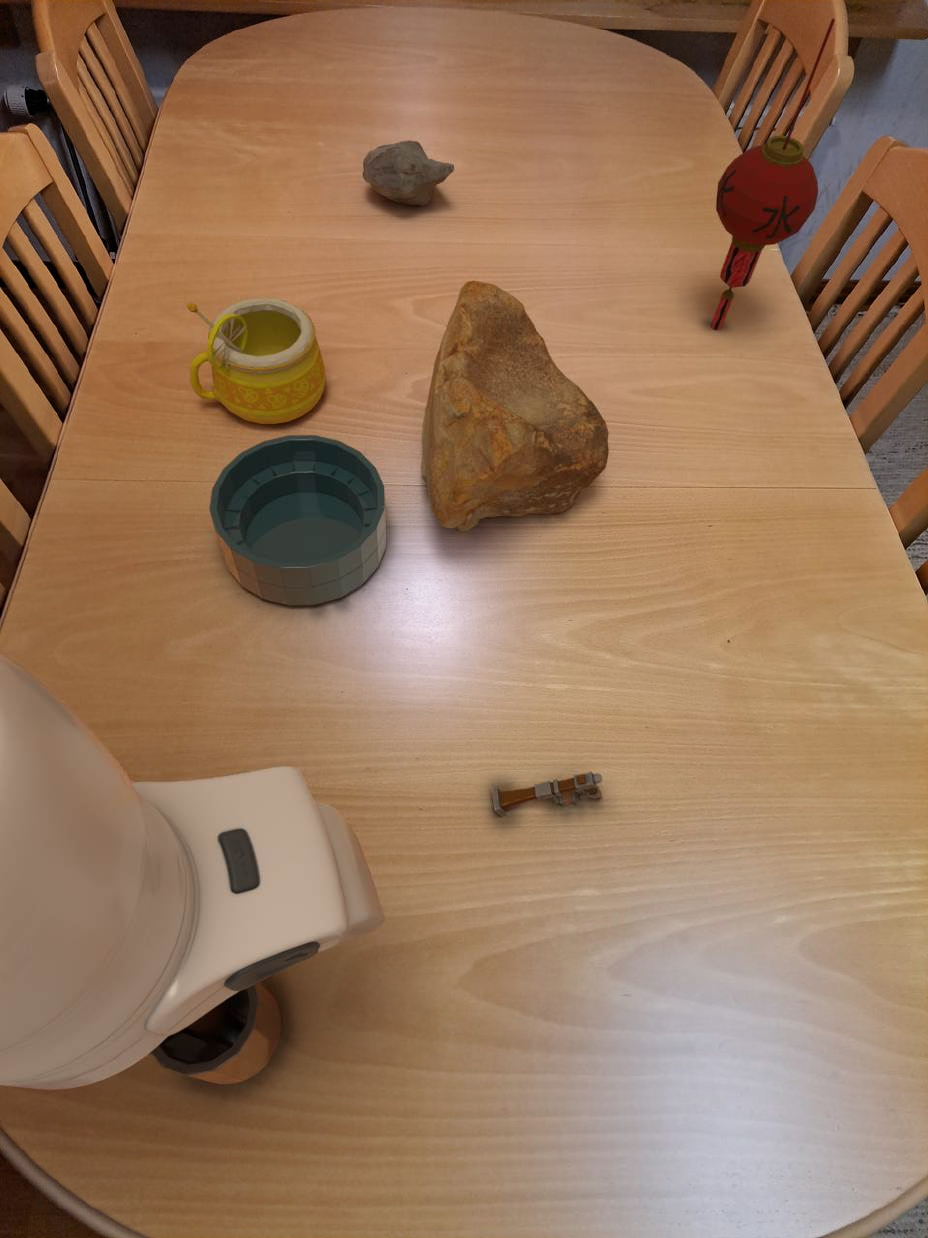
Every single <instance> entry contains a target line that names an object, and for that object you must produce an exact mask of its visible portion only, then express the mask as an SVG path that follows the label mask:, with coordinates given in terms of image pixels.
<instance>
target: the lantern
mask: <svg viewBox="0 0 928 1238" xmlns="http://www.w3.org/2000/svg"><path fill="white" fill-rule="evenodd" d="M835 21H836V19H835V18H831V20H830V23H829V25H828V28H827V30H826V33H825V36H824V39H823V42H822V43H821V47H820V49H819V52H818V54H817V56H816V60H815V62H814V65H813V67H812V69H811V73H810V75H809V78H808V80H807V83H806V86H805V88H804V91H803V94H802V96H801V99H800V102H799V104H798V106H797V109H796V111H795V115H794V117H793V120H792V122H791V125H790V128H789V131H788V133H787V135H773V136H771V137H769V138H767V140H766V143H765V144H763V145H756V146H754V147H751V148H748V149H746V150H745V151H744V152H742V153H741V154H739V155H738V156H737V157H735V158H734V159H733V160H732V161H731V163H729V165H727V167H726V169H725V170H724V172H723V173H722V175H721V177H720V179H719V180H718V182H717V191H716V201H715V211H716V213H717V216H718V218H719V220H720V222H721V224H722V226H723V228H724V229H725V232H727V233H728V234H729V235H731V236H732V237H731V243H730V245H729V249H728V250H727V254H726V256H725V259H724V262H723V265H722V268H721V270H720V274H719V278H720V280H721V281H722V282H723V283H724V284H726V285H727V287H729V288H728V289H725V290H723V292H722V293H721V297H720V299H719V302H718V305H717V307H716V310H715V313H714V316H713V318H712V321H711V323H710V327H711V329H713V330H714V331H719V330H721V329H722V327H723V324H724V322H725V319H726V317H727V315H728V312H729V309H730V307H731V304H732V302H733V299H734V297H735V292H733V289H735V288H741V287H746V286H747V285H749V283H750V281H751V279H752V277H753V274H754V271H755V269H756V266H757V264H758V262H759V259H760V256H761V254H762V252H763V249H764V248H765V247H766V246H773V245H776V244H779V243H781V242H784V241H785V240H787V239H789V238H790V237H792V236H794V235H796V234H798V233H799V232H800V230H801V229H802V228H803V227H804V225H805V223H806V222H807V221H808V219H809V218H810V216H811V215H812V214H813V212H814V211H815V210H816V206H817V200H818V194H819V184H818V178H817V176H816V175H817V174H816V172H815V169H814V166H813V165H812V164H811V162H810V161H809V159H808V158H807V157H805V156H804V154H803V152H804V145H803V144H802V143H801V142H800V141H799V140H797V139H795V138H794V137H791V135H792V133H793V130H794V128H795V125H796V123H797V120H798V118H799V115H800V112H801V110H802V107H803V105H804V102H805V99H806V97H807V94H808V91H809V89H810V86H811V84H812V81H813V79H814V76H815V73H816V71H817V68H818V66H819V63H820V61H821V58H822V55H823V52H824V50H825V47H826V45H827V42H828V39H829V38H830V34H831V32H832V29H833V27H834V24H835Z"/></svg>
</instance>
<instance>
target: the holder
mask: <svg viewBox="0 0 928 1238" xmlns="http://www.w3.org/2000/svg"><path fill="white" fill-rule="evenodd" d="M225 1002H226V1003H228V1004H229V1005H230V1006H232V1007H233V1008H235V1009H236V1010H237V1011H239V1012H240V1013H242V1014H243V1015H244V1016H245V1017H246V1025H245V1027H244V1029H243V1030H242V1032H241V1033H240V1035H239V1036H238V1038H237V1040H236V1041H235V1043H234V1044H233V1046H232V1047H227V1046H224V1045H222V1044H220V1043H218V1042H216V1041H214V1040H211V1039H209V1038H207V1037H205V1036H203V1035H201V1034H199V1033H197V1032H195V1031H192V1030H190V1029H188V1028H184V1029H182V1030H181V1031H179V1032H177V1033H175V1034H172V1035H170V1036H168V1037H167V1038H166V1039H165V1040H164V1041H163V1042H162V1043H160V1044H159V1045H158V1046H157V1047H156V1048H155V1049H154V1050H153V1051H151V1052H150V1054H151V1055H152V1056H153V1058H154V1059H155V1060H156V1061H157V1063H158V1064H159V1065H160V1066H161V1067H162V1068H164V1069H166V1070H169V1071H171V1072H175V1073H178V1074H180V1075H183V1076H186V1077H190V1078H194V1079H197V1080H202V1081H206V1082H209V1083H214V1084H216V1085H217V1084H218V1085H234V1084H237V1083H242V1082H244V1081H247V1080H248V1079H250V1078H253V1077H254V1076H255V1075H257V1074H258V1073H260V1072H261V1071H262V1070H263V1069H264V1068H265V1067H266V1066H267V1064H268V1063H269V1062H270V1060H272V1058H273V1056H274V1054H275V1053H276V1050H277V1049H278V1046H279V1043H280V1041H281V1036H282V1030H283V1029H282V1028H283V1027H282V1026H283V1023H282V1013H281V1010H280V1006H279V1004H278V1001H277V998H276V997H275V996H274V995H273V994H272V992H270V991H269V989H268V988H267V987H266V986H265V985H264V983H263V982H262V981H260V982H258V983H256V984H255V985H253V986H251V987H249V988H247V989H245V990H241V991H239V992H237V993H236V994H234V995H232V996H231V997H229V998H227V999H226V1000H225Z"/></svg>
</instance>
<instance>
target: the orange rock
mask: <svg viewBox="0 0 928 1238" xmlns="http://www.w3.org/2000/svg"><path fill="white" fill-rule="evenodd" d="M421 432H422V434H421V435H422V436H421V437H422V438H421V443H422V456H421V464H420V466H421V467H420V470H421V471H420V472H421V478H422V480H423V481H424V482H425V484H427V495H428V499H429V506H430V508H429V509H430V512H431V514H433V515H434V517H435V519H436V521H437V522H438V523H439V524H440V525H441V527H442V528H447V529H457V530H458V531H460V532H461V533H463V532H467V531H469V530H471V529H472V528H474V527H476V526H479V524H480V520H481V519H484V518H493V517H502V516H504V517H524V516H528V515H529V514H537V515H540V514H541V515H551V514H561V513H563V512H565V511H566V510H567V509H569V508H571V506H573V504H574V503H575V501H576V500H577V499H578V497H579V495H580V494H581V492H582V491H583V490H585V489H586V488H588V487H589V486H590V485H591V484H592V483H593V482H594V481H595V480H596V479H597V478H598V477H599V476H600V475H601V474H602V473H603V471H604V470H605V469H606V468H607V463H608V459H609V452H610V450H609V436H610V435H609V430H608V425H607V421H605V419H604V417H603V415H602V414H601V413H600V411H599V410H598V408H597V406H596V405H595V403H594V402H593V400H591V399H590V398H589V397H588V396H587V395H586V393H585V392H584V391H583V390H582V388H581V387H579V385H578V384H576V383H575V382H574V381H572V380H571V379H570V378H568V377H567V376H566V375H565V374H564V373H563V372H562V371H561V369H559V368H558V366H557V364H556V363H555V361H554V360H553V358H552V357H551V354H550V353H549V350H548V348H547V345H546V341H545V339H544V338H543V337H542V336H541V334H540V333H539V332H538V331H537V328H536V326H535V324H534V322H533V320H532V319H531V318H530V316H529V314H528V313H527V311H526V309H525V305H524V304H523V303H522V302H521V301H519V299H517V297H516V296H514V295H513V294H511V293H509V292H508V291H506V290H504V289H502V288H500V287H499V286H497V285H495V284H493V283H489V282H484V281H479V280H469V281H467V282H465V284H464V285H462V287H461V288H460V290H459V293H458V297H457V300H456V302H455V306H454V308H453V311H452V313H451V315H450V317H449V319H448V322H447V326H446V328H445V330H444V332H443V335H442V338H441V342H440V345H439V348H438V351H437V354H436V356H435V360H434V364H433V370H432V375H431V381H430V385H429V391H428V396H427V402H426V406H425V409H424V415H423V422H422V431H421Z"/></svg>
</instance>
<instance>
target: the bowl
mask: <svg viewBox="0 0 928 1238" xmlns="http://www.w3.org/2000/svg"><path fill="white" fill-rule="evenodd" d="M385 490H386V489H385V485H384V483H383V480H382V478H381V476H380V474H379V471H378V469H377V467H376V466H375V465H374V464H373V463H372V462H371V461H370V460H369V458H367V457H366V456H365V455H364V454H363V453H362V452H361V451H360V450H358V449H356V448H354V447H352V446H350V445H349V444H346V443H345V442H342V441H341V440H337V439H333V438H330V437H325V436H320V435H316V434H315V435H314V434H290V435H284V436H280V437H276V438H271V439H268V440H263V441H261V442H259V443H257V444H255V445H253V446H251V447H249V448H248V449H245V450H243V451H242V452H241V453H240V452H239V454H238V455H237V456H235V457H234V458H233V459H232V460H231V461H230V462H229V463H228V464H226V466H225V467H223V469H222V470H221V472H220V473H219V476H218V477H217V479H216V481H215V483H214V485H213V487H212V489H211V495H210V501H209V502H210V503H209V513H210V517H211V520H212V524H213V526H214V530H215V534H216V536H217V540H218V543H219V546H220V549H221V552H222V555H223V558H224V562H225V564H226V568H227V569H228V571H229V573H231V575H232V576H233V577H234V578H235V580H236V581H237V582H238V584H239V585H240V586H241V587H242V588H244V589H246V590H247V591H249V592H251V594H254V595H256V596H257V597H259V598H261V599H264V600H265V601H266V600H267V601H270V602H274V603H278V604H282V605H286V606H315V605H319V604H323V603H327V602H330V601H334V600H336V599H340V598H342V597H344V596H346V595H348V594H349V593H351V592H353V591H354V590H355V589H358V588H359V587H361V586H362V585H363V584H365V582H366V581H367V580H368V579H369V577H370V576H371V575H372V574H373V573H374V572H375V571H376V570H377V568H378V567H379V566H380V563H381V562H382V559H383V556H384V554H385V550H386V548H387V519H386V518H387V517H386V515H387V514H386V493H385V492H386V491H385Z"/></svg>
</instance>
